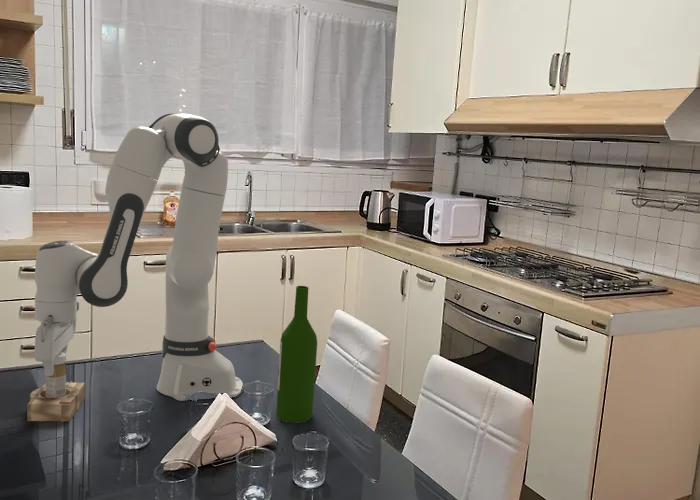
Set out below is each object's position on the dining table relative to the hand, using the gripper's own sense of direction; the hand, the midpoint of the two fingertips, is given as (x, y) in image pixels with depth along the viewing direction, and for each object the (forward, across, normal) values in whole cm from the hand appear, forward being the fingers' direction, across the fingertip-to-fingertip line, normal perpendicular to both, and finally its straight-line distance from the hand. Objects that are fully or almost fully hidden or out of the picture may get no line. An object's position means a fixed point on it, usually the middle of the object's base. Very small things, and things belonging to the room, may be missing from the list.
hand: (55, 368), depth 153 cm
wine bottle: (+10, -3, -56) cm, 57 cm away
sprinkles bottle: (+10, 0, 0) cm, 10 cm away
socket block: (+10, 0, 0) cm, 10 cm away
